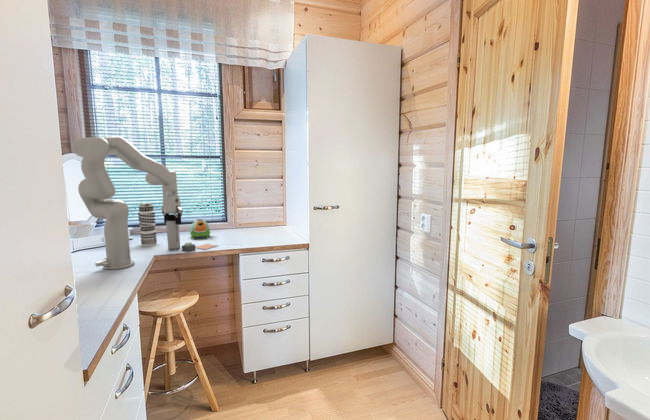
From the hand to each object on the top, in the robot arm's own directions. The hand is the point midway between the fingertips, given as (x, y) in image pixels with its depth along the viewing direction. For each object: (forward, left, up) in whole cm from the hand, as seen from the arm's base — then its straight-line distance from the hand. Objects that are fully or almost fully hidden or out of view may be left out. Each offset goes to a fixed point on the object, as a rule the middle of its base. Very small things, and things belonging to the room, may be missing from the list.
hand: (172, 223), depth 188 cm
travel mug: (-1, 0, -15) cm, 15 cm away
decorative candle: (-1, +23, -15) cm, 27 cm away
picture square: (+11, -12, -15) cm, 22 cm away
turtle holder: (+28, +13, -15) cm, 35 cm away
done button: (+1, -10, -12) cm, 16 cm away
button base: (+1, -10, -15) cm, 18 cm away
